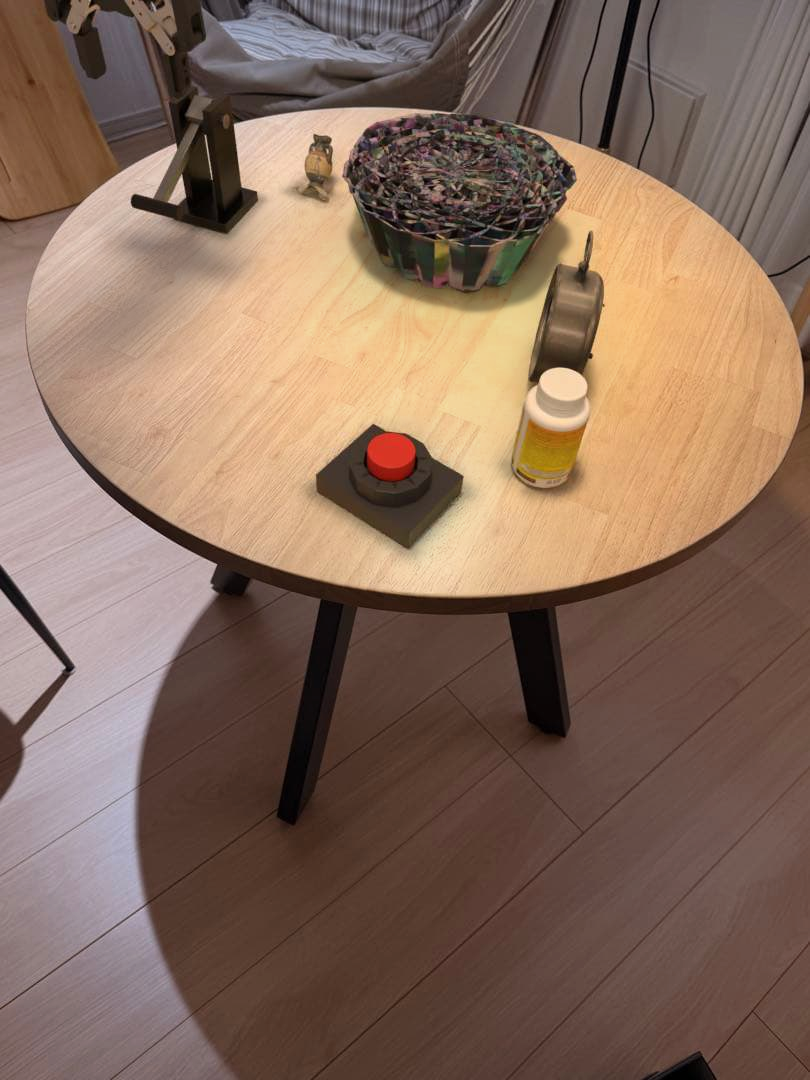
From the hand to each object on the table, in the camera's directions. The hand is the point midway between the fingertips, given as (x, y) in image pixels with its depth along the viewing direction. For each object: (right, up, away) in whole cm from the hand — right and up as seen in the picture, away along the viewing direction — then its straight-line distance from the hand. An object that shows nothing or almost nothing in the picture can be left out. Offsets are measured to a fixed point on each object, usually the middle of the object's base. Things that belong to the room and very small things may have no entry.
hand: (138, 85), depth 72 cm
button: (+23, -35, -6) cm, 43 cm away
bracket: (+2, -2, +22) cm, 22 cm away
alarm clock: (+40, -26, +7) cm, 48 cm away
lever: (+1, -1, +13) cm, 14 cm away
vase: (+14, +2, +26) cm, 30 cm away
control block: (+23, -37, -3) cm, 44 cm away
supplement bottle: (+37, -35, 0) cm, 51 cm away
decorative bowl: (+30, -6, +21) cm, 37 cm away
